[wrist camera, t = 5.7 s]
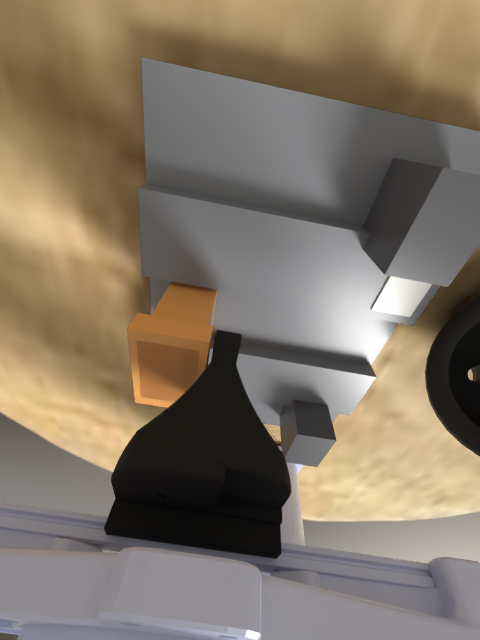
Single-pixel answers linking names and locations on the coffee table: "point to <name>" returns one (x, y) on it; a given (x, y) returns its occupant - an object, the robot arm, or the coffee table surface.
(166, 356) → the handle
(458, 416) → the muzzle brake
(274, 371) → the box
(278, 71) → the coffee table surface
